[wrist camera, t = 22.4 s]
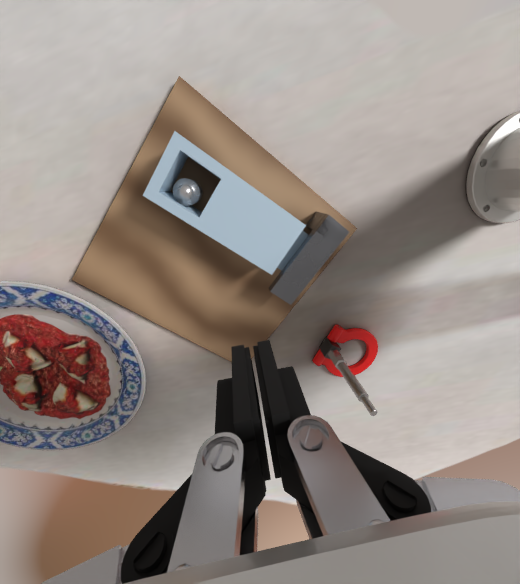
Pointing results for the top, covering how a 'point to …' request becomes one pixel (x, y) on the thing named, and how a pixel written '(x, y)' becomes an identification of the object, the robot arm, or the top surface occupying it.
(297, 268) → the bracket
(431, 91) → the top surface
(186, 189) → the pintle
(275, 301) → the board
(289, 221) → the link
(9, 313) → the ceramic plate
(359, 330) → the tow hook
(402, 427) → the top surface
